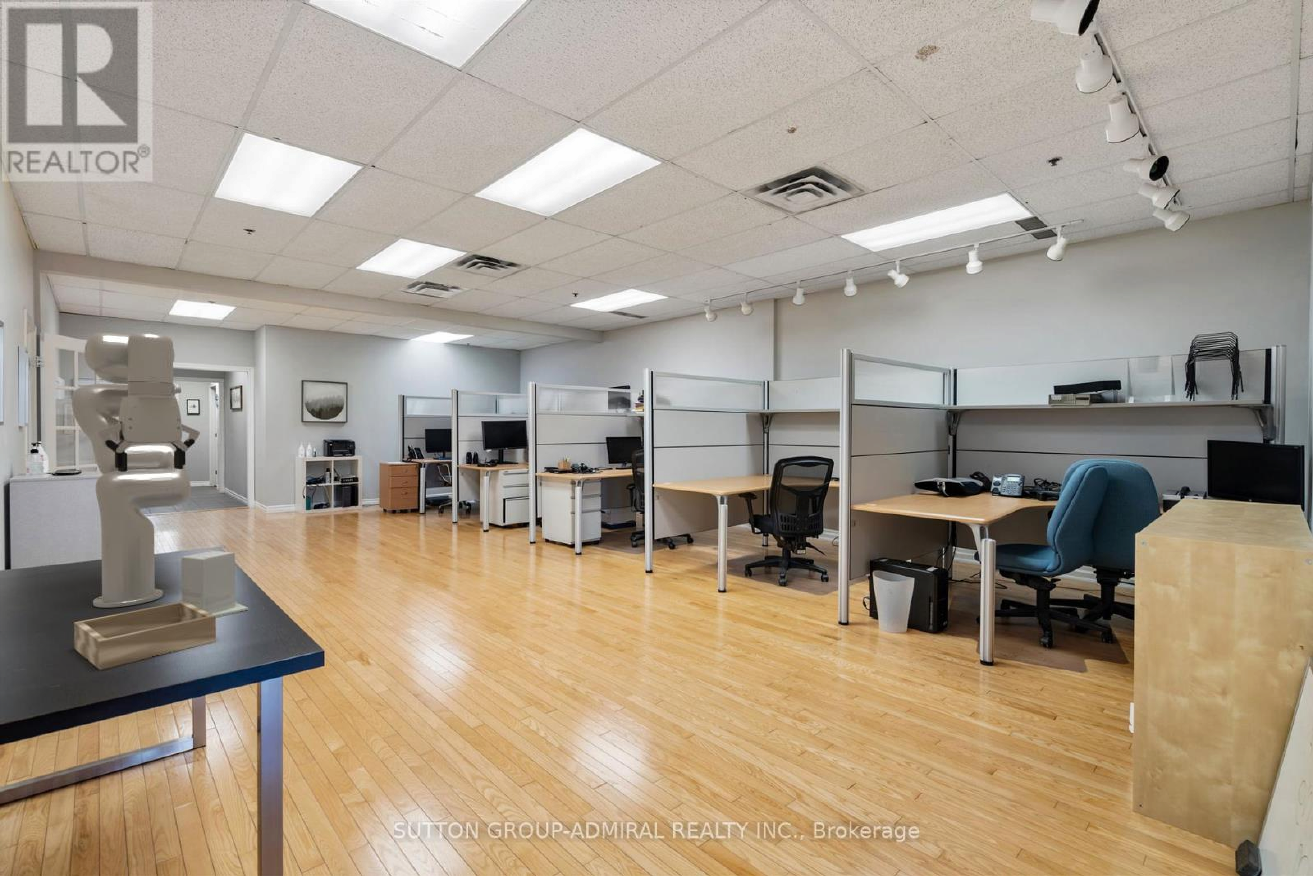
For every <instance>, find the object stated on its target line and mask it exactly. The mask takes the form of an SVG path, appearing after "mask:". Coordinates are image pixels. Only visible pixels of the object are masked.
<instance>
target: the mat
mask: <svg viewBox="0 0 1313 876" xmlns="http://www.w3.org/2000/svg"><path fill="white" fill-rule="evenodd" d="M243 610H247V611H249V607H248V606H245V605H242V604H240V603H238V602H236V601H235V607H232V608H229V609H225V610H221V611H217V612H214V613H210V614H212V615H214V616H216V618H220V617H223V616H222V615H225V616H227V615H226V614H229V615H233V614H232V613H234V614H236V613H235V612H238V613H240V612H239V611H243ZM243 612H244V611H243ZM219 616H220V617H219Z"/></svg>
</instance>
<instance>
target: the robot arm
mask: <svg viewBox="0 0 1313 876" xmlns="http://www.w3.org/2000/svg"><path fill="white" fill-rule="evenodd" d="M173 343H174V342H173V340H172V339H171V337H169V336H168V335H167V336H166V335H163V334H157V333H147V332H144V333H143V332H141V333H140V332H138V333H131V334H124V333H115V332H97V333H94V334H93V335H91V336H90V337H88V339H87V340H86V343H85V346H84V359H85V362H86V364H87V366H88V368H90V370H92V371H94V373H95V374H96V376H97V377H99V379H101V380H103V381H105V382H107V383H94V384H86V385H83V386H80V387H78V388H77V389H75V391H74V392H73V394H72V397H71V406H72V413H73V416H74V420H75V421H76V422H77V424H78V426H79V428H80V430H82V431H83V433H84V434H85V435H86V436H87V437H88V439H89V440H90V442H91V445H92V450H93V454H94V458H95V461H96V465H97V468H98V469H99V472H100V473H101V476H99V478H98V479H97V480H96V482H95V494H96V498H97V499H96V500H97V502H98V504H97V505H98V508H99V514H100V529H101V531H100V533H101V596H97V597H96V598H94V599H93V600H92V604H93V606H94V607H95V608H108V609H109V608H120V607H121V608H122V607H128V606H129V607H130V606H135V605H142V604H145V603H148V602H152V601H156V600H158V599H160V598H162V597H163V596H164V591H163V590H162V589H159V588H156V586H155V585H156V583H155V576H156V575H155V570H156V569H155V567H156V566H155V564H156V562H155V526H154V523H153V522H152V521H151V520H150V519H149V518H148V516H145V515H144V513H142V512H141V511H140V510H142V509H151V508H152V509H153V508H160V507H161V508H163V507H175V506H179V505H182V504H184V503H186V502H188V500H189V498H190V497H191V493H192V486H191V481H190V477H189V475H188V472H187V469H186V466H185V465H186V452H187V451H188V450H189V449H190V448H191V447H192V446H193V445H195V443H196V441H197V439H198V438H199V436H200V433H201V432H200V431H199V430H197V429H194V428H192V427H189V426H187V425H184V424H183V423H182V416H181V415H182V414H181V412H180V405H179V402H178V399H177V398H174V396H175V395H177V394H181V393H182V388H181V387H177V386H176V385H175V384H174V361H175V349H174V344H173ZM111 383H112V384H111ZM116 417H118V419H117V418H116ZM183 433H186V434H188V437H187V439H186V440H185V441H182V438H183Z"/></svg>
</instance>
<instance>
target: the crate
mask: <svg viewBox="0 0 1313 876" xmlns="http://www.w3.org/2000/svg"><path fill="white" fill-rule="evenodd" d="M216 618H217V617H216V616H214V615H212V614H210V613H208V612H206V611H204V610H202V609H200V608H197V607H195V606H193V605H191V604H189V603H187V602H185V601H182V600H181V601H177V602H174V603H167V604H163V605H157V606H151V607H148V608H141V609H137V610H132V611H126V612H121V613H116V614H112V615H106V616H102V617H101V616H100V617H95V618H91V619H85V620H79V621H74V622H73V624H74V625H73V632H74V633H73V635H74V644H73V645H74V650H76V652H78V653H79V654H80V655H81V656H83V658H85V660H87V659H88V660H87V661H89V663H91V664H92V665H93V666H94V667H96V669H98V670H100V671H102V670H106V669H111V668H115V667H118V666H122V665H127V664H130V663H134V662H138V661H142V659H143V660H146V659H151V658H153V657H152V656H155V657H157V656H156V655H159V656H163V655H166V653H167V654H170V653H169V652H171V653H174V651H175V652H178V651H183V650H186V649H189V648H194V647H197V646H202V645H203V646H204V645H207V644H209V643H210V644H212V643H214V642H216V641H217V635H216V631H217V628H216V626H217V625H216V620H217V619H216ZM162 654H163V655H162ZM150 657H151V658H150Z"/></svg>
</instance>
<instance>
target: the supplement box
mask: <svg viewBox="0 0 1313 876" xmlns="http://www.w3.org/2000/svg"><path fill="white" fill-rule="evenodd" d="M235 559H236V557H235V552H229V551H222V550H220V551H219V550H211V551H204V552H200V553H195V554H190V555H184V556H181V602H182V601H185V602H187V603H189V604H191V605H193V606H195V607H197V608H200V609H202V610H204V611H206V612H208V613H214V612H217V611H221V610H225V609H229V608H232V607H235V602H236V571H235V570H236V567H235V565H236V564H235V563H236V560H235Z"/></svg>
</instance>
